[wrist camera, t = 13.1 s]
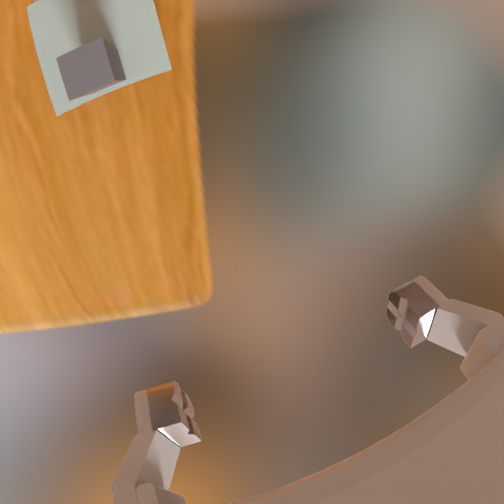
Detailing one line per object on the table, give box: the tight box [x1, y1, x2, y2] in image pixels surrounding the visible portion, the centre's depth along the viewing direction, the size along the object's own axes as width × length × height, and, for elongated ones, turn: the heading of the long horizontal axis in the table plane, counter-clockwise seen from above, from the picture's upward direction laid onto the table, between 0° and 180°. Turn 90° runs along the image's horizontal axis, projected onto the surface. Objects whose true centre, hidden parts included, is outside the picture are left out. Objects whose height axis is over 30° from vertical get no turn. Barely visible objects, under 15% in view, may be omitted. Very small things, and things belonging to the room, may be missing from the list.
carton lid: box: [27, 0, 172, 116], centre depth 15 cm, size 12×11×10 cm
